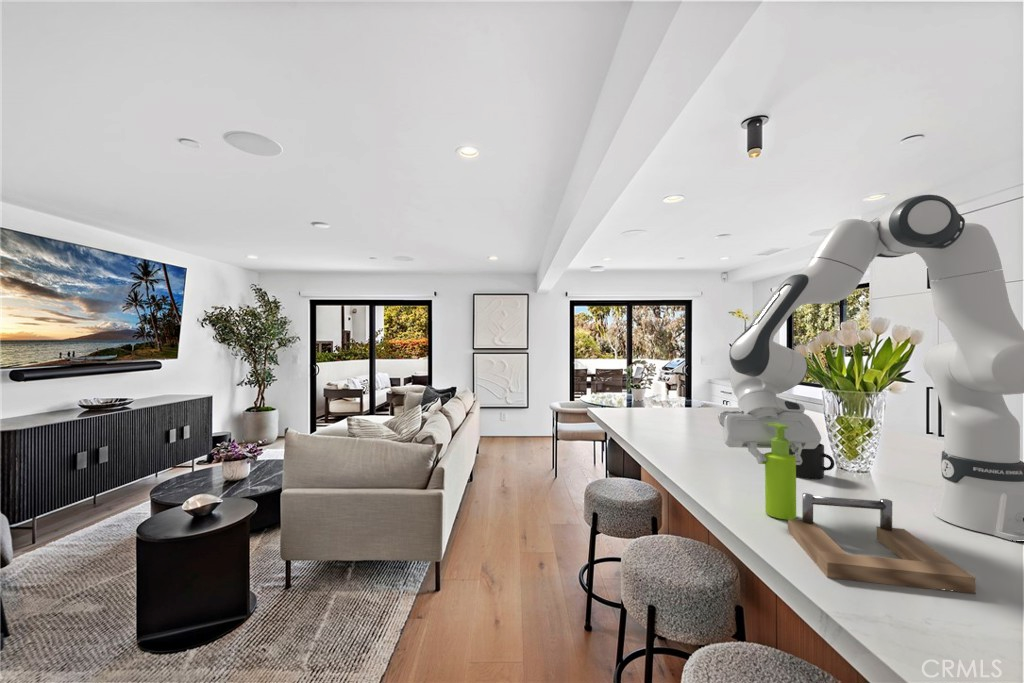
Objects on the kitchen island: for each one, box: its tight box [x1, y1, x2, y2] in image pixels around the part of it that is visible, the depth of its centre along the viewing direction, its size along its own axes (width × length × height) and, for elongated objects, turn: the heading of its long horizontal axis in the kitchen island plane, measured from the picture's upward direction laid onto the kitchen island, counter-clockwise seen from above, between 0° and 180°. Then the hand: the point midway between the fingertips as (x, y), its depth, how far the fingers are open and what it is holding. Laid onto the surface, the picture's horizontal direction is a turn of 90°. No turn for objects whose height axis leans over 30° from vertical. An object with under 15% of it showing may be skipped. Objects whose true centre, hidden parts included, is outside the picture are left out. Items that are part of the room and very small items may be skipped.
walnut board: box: [787, 519, 977, 595], centre depth 80 cm, size 20×18×2 cm
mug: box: [789, 442, 835, 480], centre depth 127 cm, size 9×12×9 cm
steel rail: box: [801, 492, 893, 531], centre depth 87 cm, size 15×2×6 cm, turn 76°
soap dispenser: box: [764, 423, 797, 520], centre depth 99 cm, size 6×7×20 cm
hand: (780, 463), depth 98 cm, fingers closed on soap dispenser, 6 cm apart
